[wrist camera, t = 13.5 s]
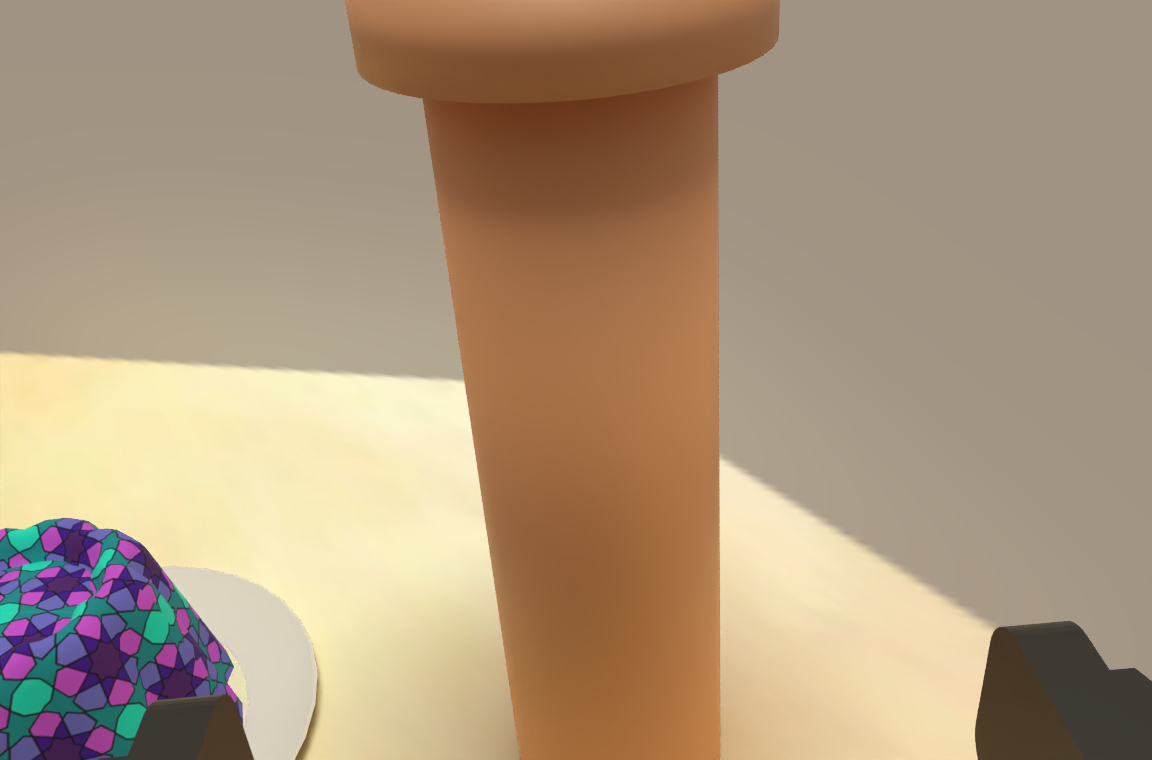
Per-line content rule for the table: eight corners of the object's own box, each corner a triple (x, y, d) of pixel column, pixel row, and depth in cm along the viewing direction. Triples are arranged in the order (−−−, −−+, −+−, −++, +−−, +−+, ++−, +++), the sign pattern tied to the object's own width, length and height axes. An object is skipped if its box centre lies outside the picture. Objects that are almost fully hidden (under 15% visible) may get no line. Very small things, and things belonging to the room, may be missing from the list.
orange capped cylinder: (453, 863, 22) (272, 17, 13) (510, 642, 27) (409, -62, 19) (762, 888, 21) (789, -9, 12) (758, 653, 26) (774, -84, 18)
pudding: (281, 962, 21) (215, 788, 18) (-336, 1036, 20) (-497, 869, 18) (348, 565, 31) (312, 417, 28) (-61, 609, 31) (-135, 463, 28)
